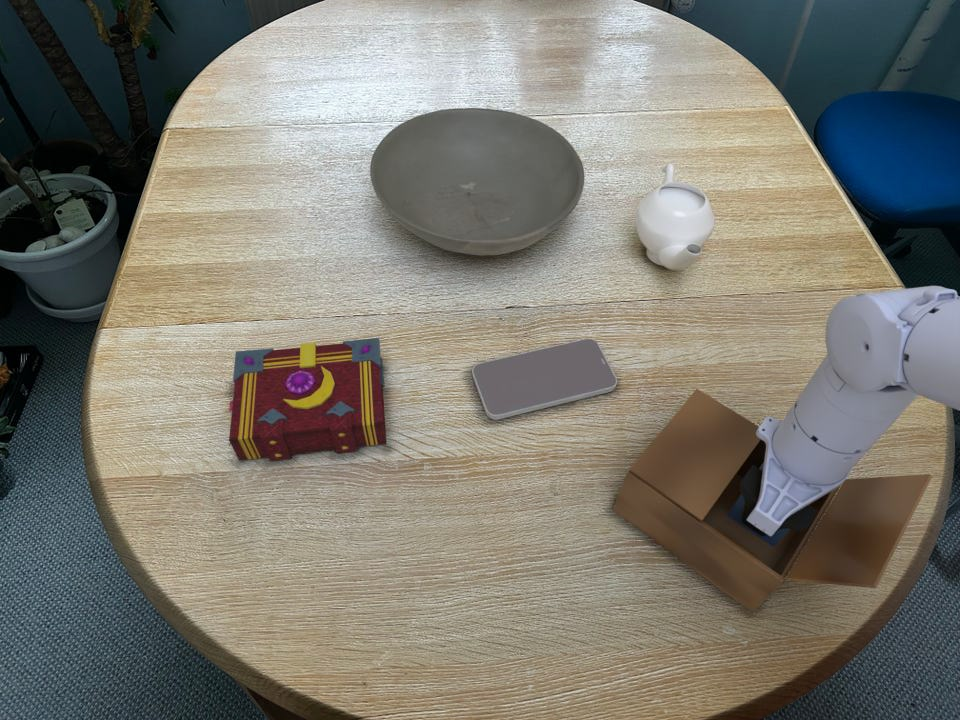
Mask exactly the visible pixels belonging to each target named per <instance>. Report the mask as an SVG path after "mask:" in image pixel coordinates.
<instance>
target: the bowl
mask: <svg viewBox="0 0 960 720" xmlns="http://www.w3.org/2000/svg"><path fill="white" fill-rule="evenodd" d="M369 166H370V167H369V174H370V175H369V176H370V181H371V185H372V188H373V190H374V193H375V195H376V197H377V199H378V201H379V202H380V203H381V205H382V206H383V208H384V209H385V210H386V212H387V213H388V214H389V215H390V216H391V218H392V219H393V220H394V221H396V222H397V223H398V224H399V225H400V226H401V227H403V228H404V229H406V230H407V231H409V232H410V233H411V234H413V235H415V236H416V237H418V238H420V239H421V240H423V241H425V242H427V243H428V244H431V245H433V246H435V247H437V248H440V249H442V250H445V251H449V252H453V253H458V254H464V255H472V256H481V257H482V256H498V255H499V256H500V255H504V254H505V255H506V254H510V253H512V252H516V251H520V250H522V249H526V248H528V247H531V246H532V245H533V244H536V243H537V242H539V241H540V240H542V239H543V238H545V237H547V235H549V234H551V233H553V231H555V230H556V229H557V228H558V227H559V226H560V225H561V224H562V223H563V222H565V221H566V220H567V218H568V217H569V216H570V215H571V213H572V212H573V211H574V210H575V208H576V206H577V205H578V204H579V201H580V199H581V197H582V194H583V191H584V187H585V169H584V165H583V162H582V160H581V158H580V156H579V154H578V153H577V151H576V150H575V148H574V146H573V145H572V144H571V143H570V142H569V141H568V139H567V138H566V137H564V136H563V134H562V133H560V132H558V131H557V130H555V128H552V127H551V126H550V125H547V124H546V123H544V122H542V121H539V120H538V119H536V118H532V117H529V116H526V115H523V114H520V113H517V112H512V111H507V110H501V109H496V108H495V109H494V108H481V107H464V108H463V107H457V108H446V109H445V108H444V109H439V110H434V111H431V112H426V113H424V114H420V115H418V116H415V117H412V118H410V119H408V120H406V121H403V122H402V123H400V124H398V125H397V126H395V127H394V128H392V130H391V131H389V132H388V133H387V134H386V135H385V136H384V137H383V138H382V139H381V141H379V144H378V145H377V146H376V148H375V150H374V152H373V153H372V156H371V161H370V165H369Z"/></svg>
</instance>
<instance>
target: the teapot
mask: <svg viewBox="0 0 960 720" xmlns="http://www.w3.org/2000/svg"><path fill="white" fill-rule="evenodd" d="M660 170H661V172H662V173H665V174H664V176H663V180H662V183H661V184H660V185H658V186H657V187H655V188H654V189H652V190H651V191H649V192H648V193H647V194H646V195H644V197H643V198H642V199H640V201H639V203H638V205H637V208H636V210H635V217H634V220H635V221H634V223H635V230H636V233H637V236H638V238H639V240H640V242H641V244H642V245H643V246H644V247H645V249H646V256H647V258H648V259H649V260H650V261H651V262H652V263H654V264H656V265H658V266H662V267H664V268H666V269H668V270H671V271H683V270H686V269H689V268H691V267H692V266H693V265H694V264H695V263H696V262H697V260H698V258H700V257H701V254H702V253H703V252H702V251H703V249H702V247H703V246H704V245H705V244H706V243H707V242H708V240H709V239H710V237H711V236H712V234H713V232H714V229H715V225H716V215H715V212H714V209H713V207H712V203H711V202H710V199H709V197H708V196H707V195H706V193H705V192H704V191H703V190H701V189H700V188H699V187H697V186H695V185H693V184H691V183H687V182H682V181H674V177H675V166H674V164H673V163H670V162H669V163H667V164H666V165H665V166H663V167H661V169H660Z"/></svg>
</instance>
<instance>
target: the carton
mask: <svg viewBox="0 0 960 720" xmlns="http://www.w3.org/2000/svg"><path fill="white" fill-rule="evenodd" d="M759 426H760V425H759ZM759 426H758V425H757V424H756V423H754V422H753V421H751V420H749V419H747V418H746V417H744V416H743V415H741V414H739V413H738V412H737V411H734V410H732V409H731V408H730V407H728V406H726V405H725V404H723V403H722V402H720V401H718V400H716V399H715V398H713V397H712V396H710V395H708V394H707V393H705V392H703V391H702V390H700V389H699V388H696V389H695V390H694V391H693V393H692V394H691V395H690V396H689V397H688V399H687V400H686V401H685V402H684V403H683V404H682V406H680V408H679V409H678V410H677V411H676V413H675V414H674V415H673V416H672V418H671V419H670V420H669V421H668V422H667V423H666V425H665V426H664V427H663V428H662V429H661V430H660V431H659V433H658V434H657V435H656V437H654V438H653V440H652V441H651V442H650V443H649V445H648V446H647V447H646V448H645V449H644V451H643V452H642V453H641V454H640V455H639V457H638V458H637V459H636V460H635V461H634V463H633V464H632V465H631V466H630V467H629V469H628V471H627V472H626V474H625V477H624V480H623V482H622V485H621V486H620V487H621V488H620V490H619V493H618V495H617V497H616V500H615V503H614V505H613V507H612V511H613V512H614V513H616V514H617V515H619V516H620V517H622V518H623V519H624V520H625V521H627V522H628V523H630V524H631V525H632V526H634V527H635V528H636V529H638V530H639V531H641V532H642V533H643V534H644V535H646V536H647V537H648V538H650V539H651V540H653V541H654V542H655V543H657V545H660V546H661V547H662V548H663V549H665V550H666V551H668V552H669V553H670V554H672V555H673V556H674V557H676V558H677V559H679V560H680V561H681V562H682V563H684V564H685V565H686V566H688V568H689V567H690V568H691V569H692V570H693V571H695V572H696V573H698V575H700V576H702V577H703V578H704V579H706V581H708V582H710V583H711V584H712V585H713V586H715V587H717V588H718V589H719V590H720V591H722V592H723V593H725V594H726V595H727V596H728V597H730V598H731V599H733V600H734V601H735V602H737V603H738V604H739V605H741V606H742V607H744V608H745V609H746V610H748V612H750V613H753V612H754V611H755V610H756V609H757V608H759V606H761V605H762V604H763V603H764V601H766V599H768V598H769V597H770V596H771V595H772V594H773V593H774V592H775V591H776V590H777V589H778V588H779V587H780V586H781V585H782V584H783V583H784V581H785V580H786V579H787V578H786V577H787V575H788V574H789V572H790V570H791V569H792V567H793V565H794V564H795V562H796V560H797V559H798V557H799V555H800V554H801V552H802V550H803V549H804V547H805V545H806V544H807V542H808V540H809V539H810V537H811V535H812V534H813V532H814V530H815V529H816V527H817V525H818V524H819V522H820V520H821V519H822V517H823V515H824V514H825V512H826V510H827V509H828V507H829V505H830V504H831V502H832V500H833V499H834V497H835V495H836V494H837V492H838V490H839V488H840V487H841V485H842V484H841V485H840V486H839V487H837V488H836V489H834V490H832V491H830V492H829V493H827V494H825V495H824V496H822V497H820V498H819V499H817V500H815V501H814V502H812V503H810V504H809V506H811V507H812V508H814V509H816V510H817V511H818V513H817V515H816V516H815V518H814V520H813V521H812V523H811V524H810V525H809V526H808V527H807V528H805V529H804V530H802V531H798V530H794V529H790V530H789V531H788V532H787V533H786V534H785V535H784V537H783V538H782V539H781V540H780V541H779V542H778V543H777V544H776V546H775V547H773V546H771V545H770V544H768V543H767V542H765V541H764V540H762V539H761V538H759V537H758V536H757V535H755V534H754V533H752V532H751V531H749V530H748V529H746V528H745V527H743V526H742V525H740V524H739V523H738V522H736V521H735V520H733V519H732V518H730V517H729V516H727V514H728V513H729V511H730V510H731V508H732V507H733V505H734V504H735V503H736V501H737V500H738V498H739V497H740V495H741V492H740V485H741V482H742V480H743V478H744V477H745V475H746V474H747V472H748V471H749V470H750V468H751V467H752V465H754V466H756V467H757V468H760V467H761V465H762V464H763V462H764V459H765V452H766V443H765V442H764V441H763V440H761V439H760V438H759V437H757V435H756V431H757V429H758V428H759Z"/></svg>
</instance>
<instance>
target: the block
mask: <svg viewBox="0 0 960 720" xmlns="http://www.w3.org/2000/svg"><path fill="white" fill-rule="evenodd" d="M763 466H764V462H763V464H762V465H761V467H760V468H759V469H761V470H762V471H763ZM744 506H745V500H744V497H743V495H742V494H741V495H740V497H739V498H738V500H737V501H736V503H735V504H734V505H733V507H732V508H731V510H730V511H729V513H728V514H727V516H729V517H730V518H732V519H733V520H735V521H736V522H738V523H739V524H740V525H742V526H743V527H745V528H746V529H748V530H749V531H751V532H752V533H754V534H755V535H757V536H758V537H759V538H761V539H762V540H764V541H765V542H767V543H768V544H770V545H771V546H773V547H775V546H776V544H777V543H778V542H779V541H780V540H781V539H782V538H783V537H784V535H785V534H786V533H787V532H788V531H789V530H790V529H781V530H778V531H776V532H775V533H774V534H773V535H772V536H769V535H766V536H761V535H759V534H758V533H756V532H755V531H753V530H752V529H750V528H749V527H747V526H746V525H745V524H743V523H742V516H743V511H744Z"/></svg>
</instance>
